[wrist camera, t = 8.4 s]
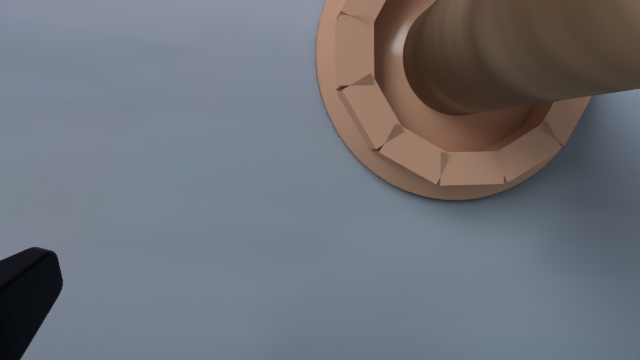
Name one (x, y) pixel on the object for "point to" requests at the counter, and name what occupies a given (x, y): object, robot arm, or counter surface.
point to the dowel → (521, 52)
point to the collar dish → (423, 111)
